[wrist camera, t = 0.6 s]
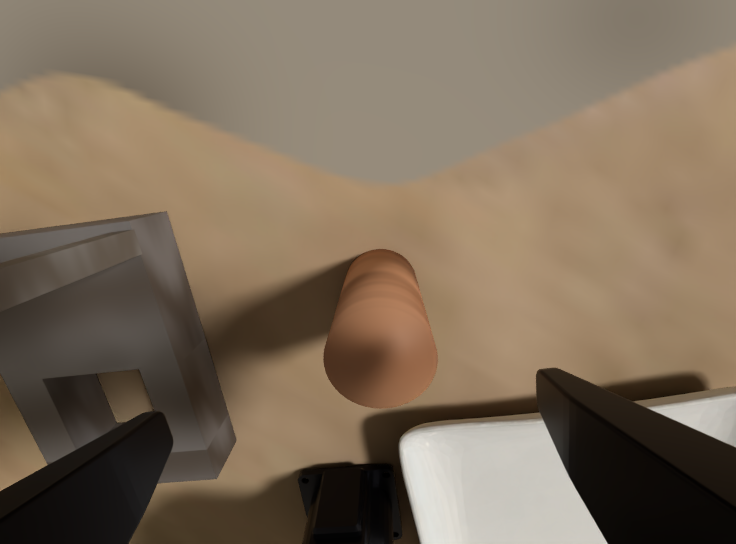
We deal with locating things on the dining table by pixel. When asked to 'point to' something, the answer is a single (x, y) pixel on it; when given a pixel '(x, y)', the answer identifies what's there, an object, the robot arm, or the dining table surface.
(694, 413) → the salad plate
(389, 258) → the peg
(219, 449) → the socket block
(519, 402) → the dining table surface
